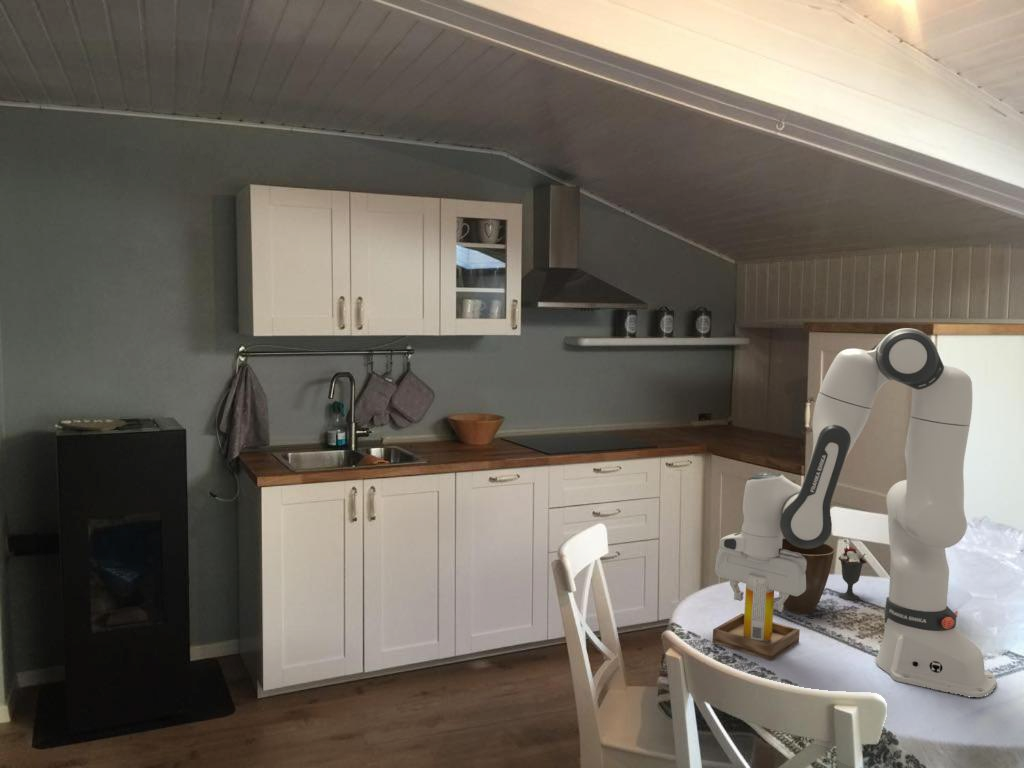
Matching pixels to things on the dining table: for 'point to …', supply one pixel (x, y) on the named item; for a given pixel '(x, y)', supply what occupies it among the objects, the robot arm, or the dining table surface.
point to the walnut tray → (735, 639)
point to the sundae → (851, 570)
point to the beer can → (758, 609)
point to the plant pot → (810, 577)
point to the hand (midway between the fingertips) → (758, 605)
